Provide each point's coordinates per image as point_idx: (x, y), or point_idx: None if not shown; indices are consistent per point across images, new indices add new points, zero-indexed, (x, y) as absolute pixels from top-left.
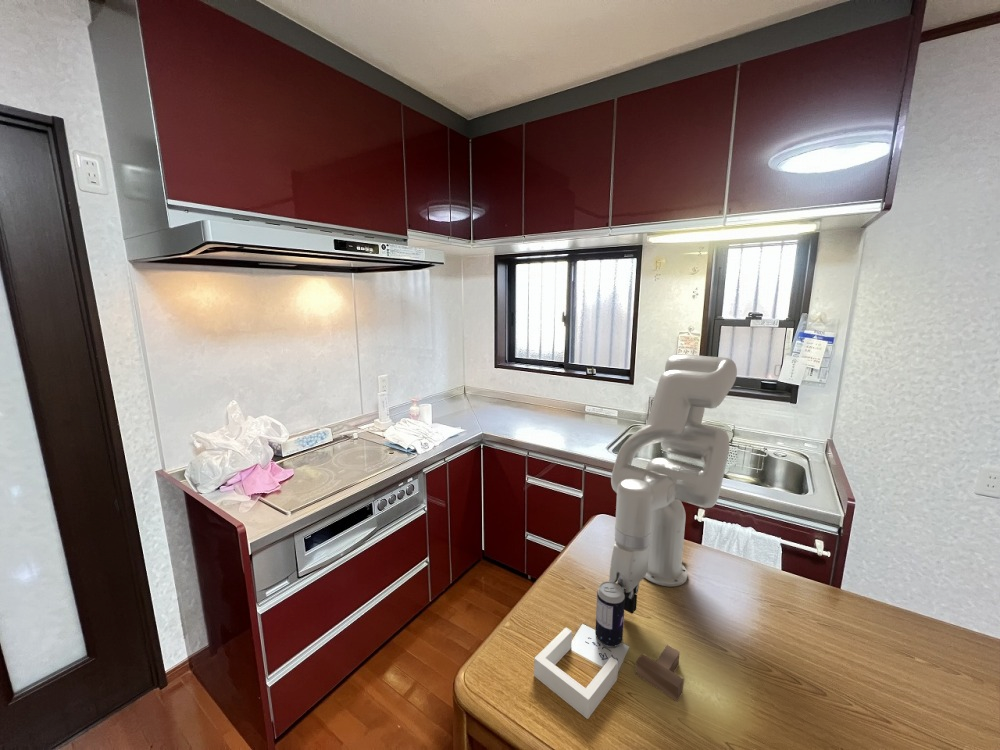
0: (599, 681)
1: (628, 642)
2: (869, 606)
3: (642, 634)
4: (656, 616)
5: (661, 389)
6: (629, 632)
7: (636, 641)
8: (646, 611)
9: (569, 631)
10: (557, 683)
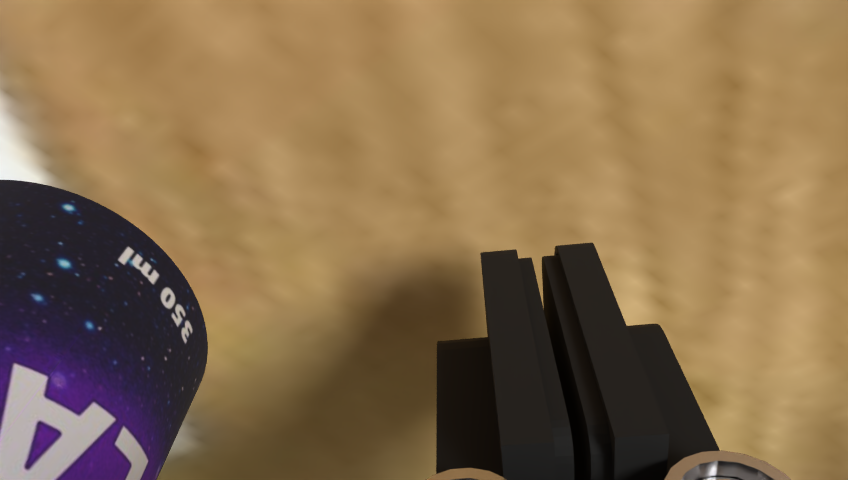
0: None
1: (225, 426)
2: None
3: (425, 455)
4: (770, 433)
5: None
6: (340, 376)
7: (302, 460)
8: (778, 343)
9: None
10: None
